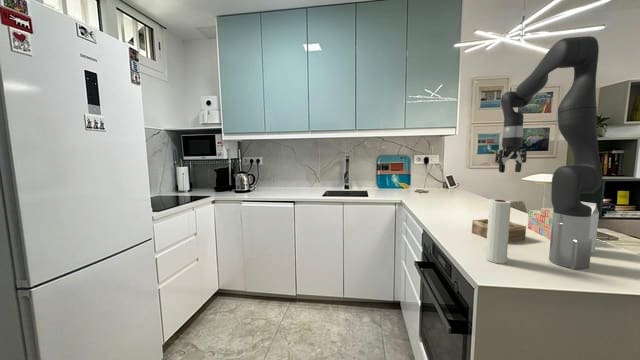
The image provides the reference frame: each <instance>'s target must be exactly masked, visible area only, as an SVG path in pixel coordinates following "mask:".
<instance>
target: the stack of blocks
mask: <svg viewBox="0 0 640 360" xmlns="http://www.w3.org/2000/svg"><path fill="white" fill-rule="evenodd" d="M552 219H553V207H541V208H540V210H539V209H536V210H535V209H534V210H533V209H528V219H527V229H529V230H530V231H532V232H534V233H536V234H538V235H540V236H543V237H545V238H547V240H551V229H552Z"/></svg>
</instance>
